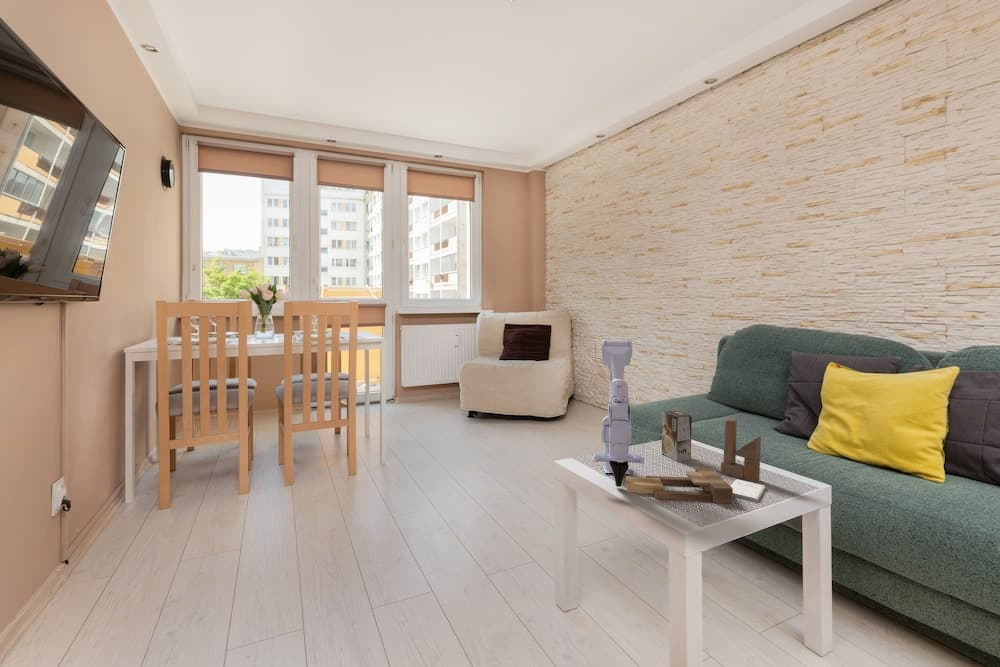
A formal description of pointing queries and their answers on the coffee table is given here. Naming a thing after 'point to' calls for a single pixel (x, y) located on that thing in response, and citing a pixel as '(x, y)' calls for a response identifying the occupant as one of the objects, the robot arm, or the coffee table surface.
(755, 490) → the external hard drive
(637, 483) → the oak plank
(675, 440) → the coffee box
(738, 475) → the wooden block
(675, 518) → the coffee table surface
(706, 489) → the walnut dock
